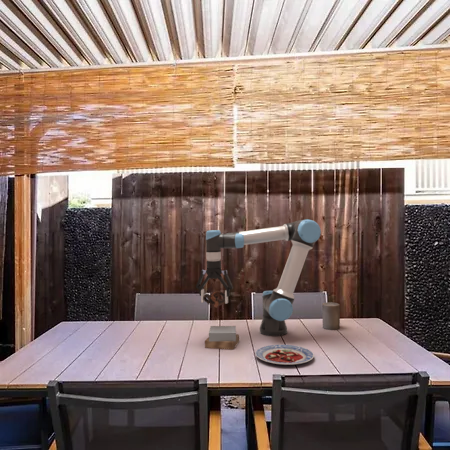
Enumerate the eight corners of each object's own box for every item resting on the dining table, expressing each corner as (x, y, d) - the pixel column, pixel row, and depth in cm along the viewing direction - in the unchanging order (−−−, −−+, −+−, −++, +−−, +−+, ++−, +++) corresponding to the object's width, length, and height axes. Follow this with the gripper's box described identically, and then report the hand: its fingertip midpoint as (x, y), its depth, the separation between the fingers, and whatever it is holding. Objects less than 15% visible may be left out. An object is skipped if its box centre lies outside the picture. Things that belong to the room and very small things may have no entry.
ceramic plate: (301, 373, 154) (301, 366, 154) (245, 362, 168) (245, 355, 168) (321, 354, 176) (321, 348, 176) (270, 346, 190) (270, 340, 190)
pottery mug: (225, 304, 204) (228, 292, 200) (223, 316, 195) (226, 303, 192) (202, 299, 204) (205, 286, 200) (200, 310, 195) (203, 297, 191)
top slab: (235, 333, 199) (235, 325, 199) (235, 341, 186) (235, 332, 186) (210, 333, 199) (210, 326, 199) (208, 341, 186) (208, 333, 186)
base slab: (239, 342, 198) (239, 334, 198) (233, 350, 184) (232, 342, 184) (212, 340, 201) (212, 332, 201) (205, 348, 188) (204, 340, 188)
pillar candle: (342, 327, 223) (341, 301, 223) (337, 331, 214) (336, 304, 215) (325, 324, 228) (325, 299, 228) (320, 328, 220) (319, 302, 220)
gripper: (238, 259, 197) (239, 301, 197) (194, 259, 204) (195, 300, 204) (234, 261, 190) (235, 304, 190) (188, 260, 197) (189, 303, 197)
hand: (214, 302), depth 197 cm, fingers closed on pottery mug, 12 cm apart
